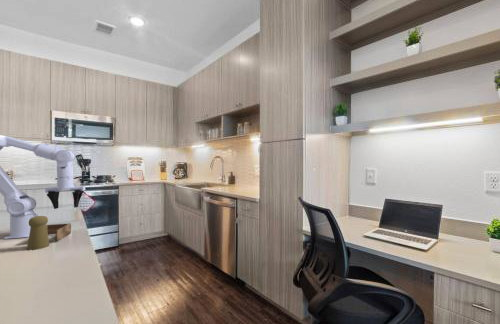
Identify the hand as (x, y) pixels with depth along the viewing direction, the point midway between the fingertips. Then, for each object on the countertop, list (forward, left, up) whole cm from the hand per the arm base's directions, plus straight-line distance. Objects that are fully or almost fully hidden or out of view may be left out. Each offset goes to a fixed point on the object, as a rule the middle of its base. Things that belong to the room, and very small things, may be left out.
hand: (66, 207), depth 104 cm
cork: (+20, 0, -11) cm, 22 cm away
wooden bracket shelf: (+10, -1, -10) cm, 15 cm away
